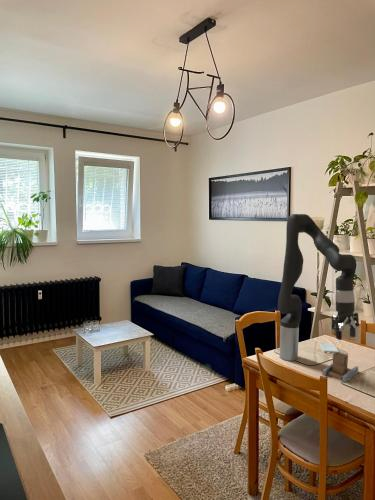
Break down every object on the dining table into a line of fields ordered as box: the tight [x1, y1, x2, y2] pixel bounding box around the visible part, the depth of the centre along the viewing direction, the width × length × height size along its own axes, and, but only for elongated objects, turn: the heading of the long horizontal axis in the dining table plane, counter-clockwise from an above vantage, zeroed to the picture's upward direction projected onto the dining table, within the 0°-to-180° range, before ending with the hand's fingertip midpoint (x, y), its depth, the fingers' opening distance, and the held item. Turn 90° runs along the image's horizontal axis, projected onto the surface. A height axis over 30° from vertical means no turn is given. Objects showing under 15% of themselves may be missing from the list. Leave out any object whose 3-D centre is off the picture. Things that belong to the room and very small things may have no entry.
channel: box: [321, 362, 359, 383], centre depth 174 cm, size 16×10×2 cm, turn 135°
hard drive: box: [318, 342, 340, 354], centre depth 205 cm, size 2×8×12 cm
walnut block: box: [327, 351, 349, 381], centre depth 172 cm, size 9×6×10 cm, turn 135°
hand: (345, 338), depth 158 cm, fingers open, 8 cm apart
